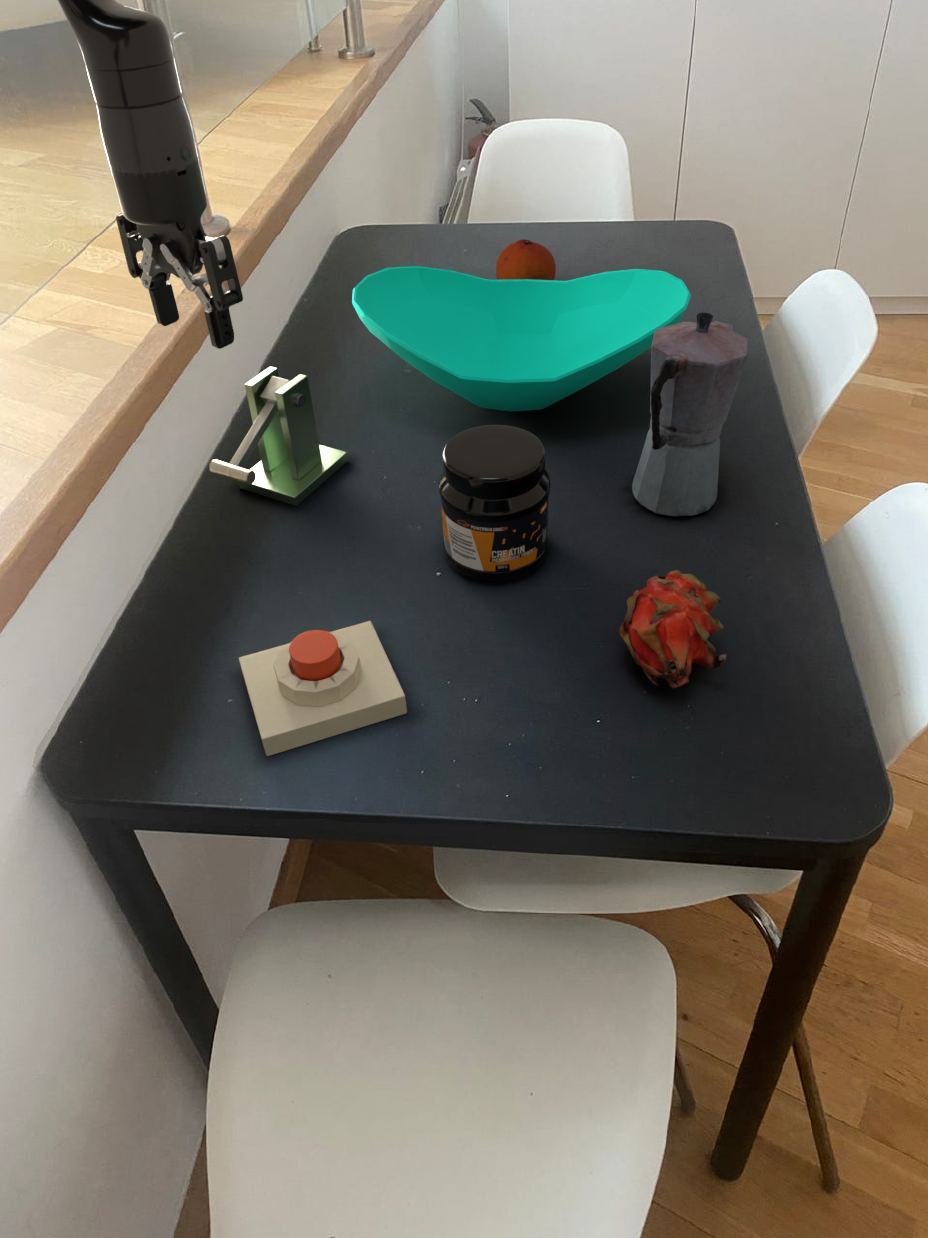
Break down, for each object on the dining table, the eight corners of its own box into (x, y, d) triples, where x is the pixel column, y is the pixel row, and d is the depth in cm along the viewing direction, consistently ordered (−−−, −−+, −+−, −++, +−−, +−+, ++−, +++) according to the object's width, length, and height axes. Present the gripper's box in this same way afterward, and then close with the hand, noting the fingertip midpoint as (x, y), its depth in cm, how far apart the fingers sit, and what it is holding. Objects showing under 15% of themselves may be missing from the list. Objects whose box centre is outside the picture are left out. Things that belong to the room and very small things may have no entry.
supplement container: (447, 591, 88) (439, 487, 80) (440, 525, 96) (433, 425, 88) (555, 582, 89) (559, 477, 81) (540, 517, 97) (542, 416, 88)
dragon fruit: (672, 620, 86) (671, 729, 79) (601, 580, 83) (593, 688, 76) (740, 575, 80) (745, 688, 73) (666, 530, 77) (664, 642, 70)
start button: (299, 686, 75) (295, 669, 73) (288, 655, 78) (283, 637, 76) (346, 673, 76) (343, 655, 74) (334, 641, 78) (330, 624, 77)
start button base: (266, 757, 74) (257, 724, 71) (243, 675, 81) (233, 642, 78) (407, 713, 77) (403, 680, 74) (373, 637, 84) (368, 605, 81)
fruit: (563, 301, 136) (565, 246, 130) (505, 309, 134) (504, 254, 129) (545, 278, 142) (547, 225, 137) (490, 286, 141) (489, 232, 135)
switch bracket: (296, 506, 100) (277, 409, 92) (238, 488, 103) (215, 393, 95) (348, 460, 106) (334, 366, 98) (292, 444, 109) (275, 352, 101)
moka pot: (742, 474, 101) (777, 297, 87) (688, 550, 91) (717, 365, 78) (661, 452, 105) (682, 279, 91) (601, 522, 95) (614, 341, 82)
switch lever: (253, 489, 95) (242, 476, 93) (215, 477, 97) (204, 465, 95) (308, 396, 98) (299, 382, 96) (271, 387, 100) (262, 372, 98)
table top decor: (673, 346, 124) (686, 246, 115) (682, 458, 104) (698, 348, 95) (385, 339, 129) (376, 243, 120) (340, 445, 109) (324, 339, 100)
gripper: (69, 154, 81) (121, 329, 92) (168, 182, 74) (212, 368, 85) (139, 133, 85) (181, 303, 96) (240, 158, 78) (273, 338, 89)
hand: (196, 333), depth 90 cm, fingers open, 8 cm apart
